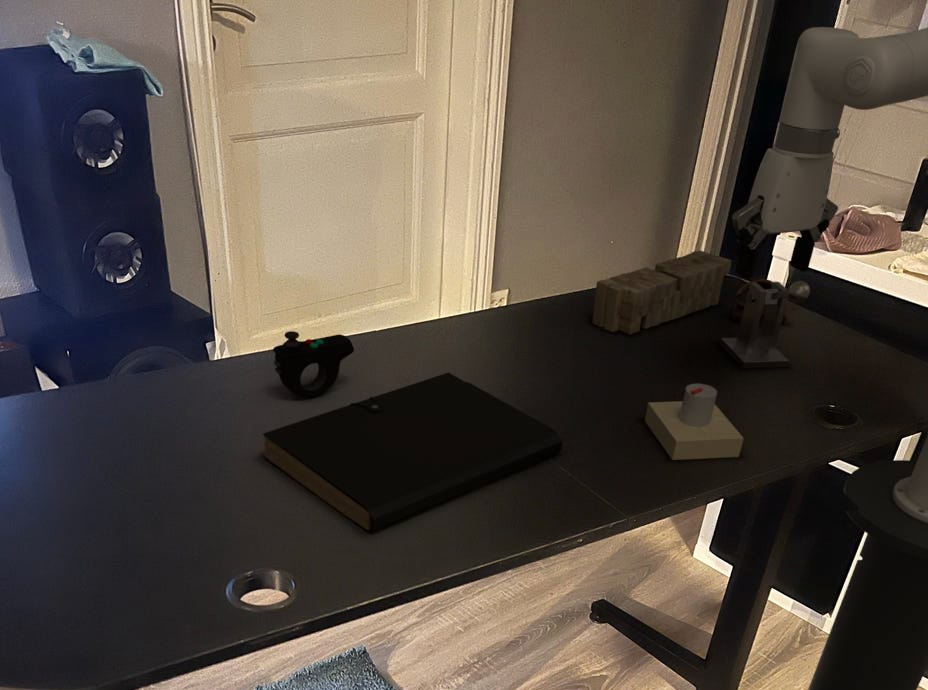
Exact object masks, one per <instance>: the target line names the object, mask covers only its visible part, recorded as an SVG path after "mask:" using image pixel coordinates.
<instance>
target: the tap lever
mask: <svg viewBox="0 0 928 690" xmlns="http://www.w3.org/2000/svg"><path fill="white" fill-rule="evenodd" d="M765 290H766V291H767V294H766V298H765V302H764V306H771V305H777V299H783V298H788V299H790V301H791V302H792V303H796V304H799V303H803V302H805V301H806V300H807V299H808V298H809V297H810V294H811V288H810V285H809V284H808V283H807V282H806V281H804V280H796V281H794V282H793V283H792V284H791V285H790V286H789V287H788V290H785V291H780V292H778V289H765Z"/></svg>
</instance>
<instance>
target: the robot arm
mask: <svg viewBox="0 0 928 690" xmlns="http://www.w3.org/2000/svg"><path fill="white" fill-rule="evenodd" d="M796 43H797V44H796V47H795V52H794V55H793V60H792V63H791V67H790V73H789V76H788V81H787V85H786V88H785V89H786V90H785V93H784V98H783V103H782V107H781V111H780V116H779V120H778V123H777V128H776V131H775V136H774V141H773V144H772V147H771V148H767V150H766V152H765V154H764V156H763V158H762V160H761V162H760V166H759V167H758V171H757V173H756V176H755V179H754V182H753V185H752V188H751V192H750V195H749V199H748V202H747V204H745V205H744V206H743V207H741V208H739V209H738V210H736V211H734V213H733V214H732V216H731V219H732V226H733V228H734V229H733V233H734V236H735V237H736V239H737V243H738V244H740V248H739V253H738V256H737V260H736V261H737V262H736V265H735V273H736V274H738V275H739V276H741V277H743V278H745V279H752V278H753V277H754V274H755V270H756V265H757V261H758V257H759V254H760V250H759V249H758V248H757V247H758V246H759V244H760V243H761V242H762V241H763V240H764V239H765V238H766V236H767V235H775V234H785V233H794V232H799V233H800V236H796V239H795V241H794V246H793V250H792V254H791V257H790V261H789V265H790V266H791V267H792V268H794V269H796V270H798V271H800V272H802V273H806V272H808V270H809V267H810V263H811V259H812V256H813V252H814V248H815V245H816V243H818V242H820V240H821V238H822V235H823V234H824V232H826V230H827V229H828V228H829V227H830V224H831V221H832V220H833V218H835V215H836V214H837V212H838V211H839V206H838V205H837V204H835V203H834V202H833V201H832V200H830V199H829V198H828V195H829V191H830V185H831V179H832V173H833V168H834V167H833V165H834V156H835V155H834V152H833V149H834V145H835V142H836V140H837V139H839V138H840V136H841V135H840V134H841V129H840V127H839V126H840V123H841V120H842V117H843V112H844V108H845V106H846V107H849V108H851V109H854V110H860V111H869V110H874V109H878V108H882V107H886V106H890V105H895V104H901V103H905V102H906V103H907V102H909V101H913V100H917V99H921V98H925V97H928V26H927V27H923V28H920V29H917V30H914V31H909V32H902V33H895V34H889V35H888V34H887V35H883V36H875V37H860V36H859V34H858V33H856V32H855V31H853V30H849V29H845V28H839V27H829V26H827V27H826V26H817V27H816V26H815V27H810V28H807V29H805V30H804V31H803V32H802V33H801V34H800V36H799V38H798V40H797V42H796ZM754 233H755V234H754ZM916 461H917V463H916V466H915V468H914V471H913V473H912V476H911V477H907V478H904V479H902V480H900V481H899V482H897V483H896V485H895V486H894V489H893V492H892V498H893V500H894V502H895V503H896V504H897V506H898V507H899V508H900V509H901V510H903V511H904V512H905V513H907V514H908V515H910V516H912V517H914V518H916V519H918V520H920V521H922V522H925V523H928V434H927V435H926V438H925V440H924V443H923V445H922V448H921V451H920V453H919V455H918V458H917V460H916Z"/></svg>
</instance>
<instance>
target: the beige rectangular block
mask: <svg viewBox="0 0 928 690" xmlns="http://www.w3.org/2000/svg"><path fill="white" fill-rule="evenodd" d="M682 403H683V400H682V401H681V400H680V401H679V400H678V401H677V400H676V401H655V402H653V401H652V402H651V401H650V402H647V406H646V412H645V417H644V422H645V424H646V425H647V426H648V428H649V430H650V431H651V432H652V434H653V435H654V436H655V438H656V439H657V440H658V442H659V444H660V445H661V446H662V448H663V449H664V450H665V452H666V453H667V455H668V456H669V458H670V459H671V460H672V461H684V460H685V461H686V460H702V459H705V460H706V459H707V460H708V459H721V458H722V459H725V458H739V457H740V454H741V450H742V447H743V443H744V439H745V438H744V436H743V435H742V434H741V433H740V432H739V431H738V430H737V428H736V427H735V426H734V425H733V424H732V423H731V421H730V420H729V419H728V417H727V416H725V414H724V413H723V412H722V411H721V409H720V408H719V407H718V406H717V404H716V403H715V404H714V408H713V413H712V417H711V421H710V423H709V424H708V425H706V426H692V425H688V424H686V423H684V422H682V421H681V420H680V412H681V407H682Z"/></svg>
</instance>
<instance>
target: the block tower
mask: <svg viewBox="0 0 928 690" xmlns="http://www.w3.org/2000/svg"><path fill="white" fill-rule="evenodd" d="M731 266H732V259H728V258H725V257H722V256H719V255H716V254H713V253H710V252H706V251H703V250H694V251H692V252H690V253H688V254H686V255H683V256H678V257H675V258H671V259H667V260H665V261H662V262H657V263H655V267H654V269H653V268H650V267H647V266H645V267H643V268H639V269H636V270H633V271H630V272H626V273H621V274H617V275H614V276H612V277H609V278H606V279H601V280H597V281H596V284H595V285H596V286H595V294H594V305H593V313H592V325H595V326H598V327H599V328H603V329H604V330H607V331H608V332H612V333H615V332H618V331H620V332H622V333H624V334H626V335H628V336H630V335H633V334H635V333H638V332H640V331H641V329H643V330H647V329H649V328H650V327H651V328H652V327H656V326H659V325H661V324H664V323H668V322H669V321H674V320H676V319H680V318H682V317H685V316H687V315H690V314H692V313H695V312H698V311H702V310H705V309H707V308H710V307H711V306H716V305H718V304H719V300H720V296H721V291H722V286H723V282H724V277H725V276H726V275H729V274H730V270H731Z"/></svg>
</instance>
